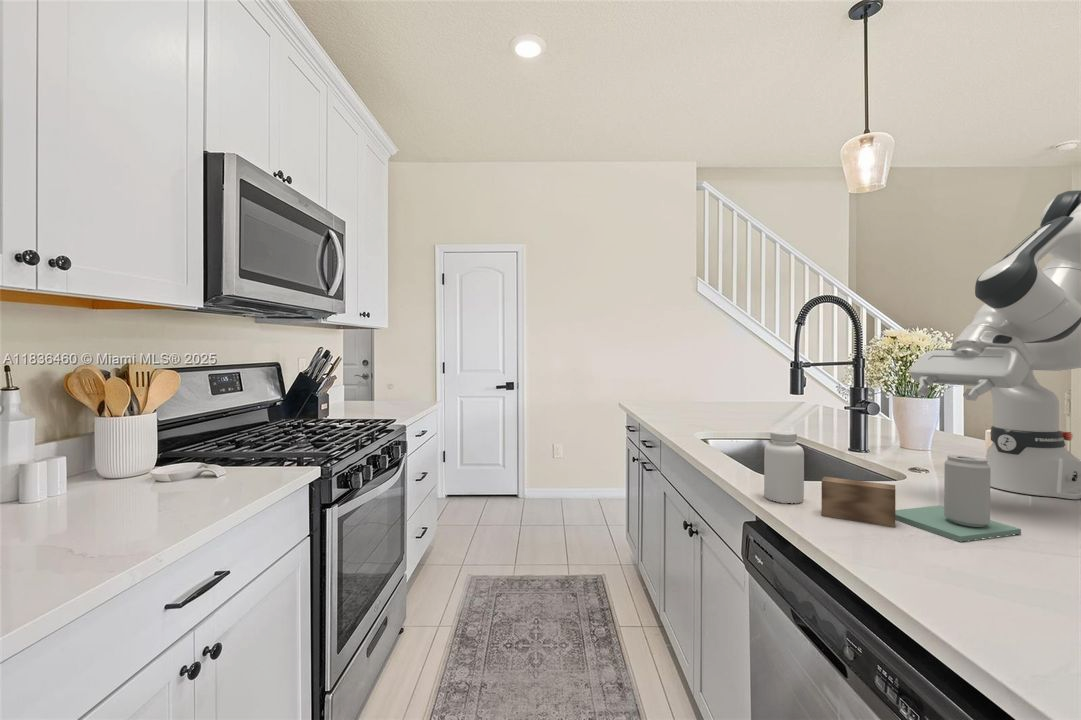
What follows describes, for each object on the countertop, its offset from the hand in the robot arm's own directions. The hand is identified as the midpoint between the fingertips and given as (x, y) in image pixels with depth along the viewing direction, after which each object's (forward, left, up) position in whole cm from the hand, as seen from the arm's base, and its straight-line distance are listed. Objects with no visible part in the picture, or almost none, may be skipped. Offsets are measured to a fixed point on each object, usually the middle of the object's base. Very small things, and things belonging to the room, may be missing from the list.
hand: (943, 396), depth 103 cm
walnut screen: (+23, +1, -23) cm, 33 cm away
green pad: (+10, +9, -23) cm, 27 cm away
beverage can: (+9, +11, -22) cm, 27 cm away
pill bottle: (+28, -13, -23) cm, 39 cm away
